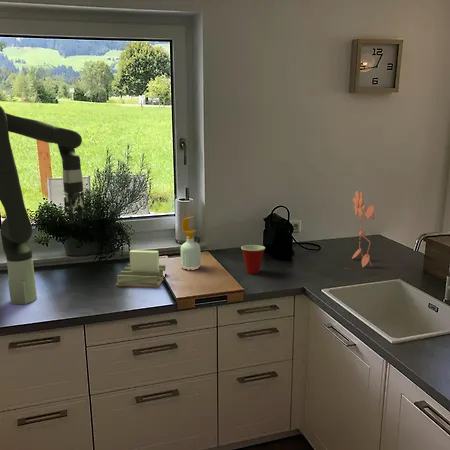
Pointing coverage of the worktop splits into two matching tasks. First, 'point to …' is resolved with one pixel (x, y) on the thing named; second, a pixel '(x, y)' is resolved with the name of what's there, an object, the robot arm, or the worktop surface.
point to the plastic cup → (253, 257)
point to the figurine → (368, 213)
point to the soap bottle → (190, 247)
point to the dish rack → (140, 278)
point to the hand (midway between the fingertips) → (76, 219)
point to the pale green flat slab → (144, 261)
